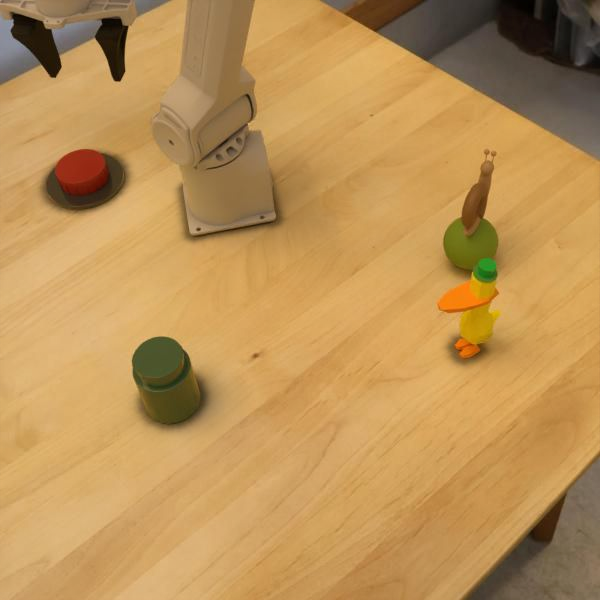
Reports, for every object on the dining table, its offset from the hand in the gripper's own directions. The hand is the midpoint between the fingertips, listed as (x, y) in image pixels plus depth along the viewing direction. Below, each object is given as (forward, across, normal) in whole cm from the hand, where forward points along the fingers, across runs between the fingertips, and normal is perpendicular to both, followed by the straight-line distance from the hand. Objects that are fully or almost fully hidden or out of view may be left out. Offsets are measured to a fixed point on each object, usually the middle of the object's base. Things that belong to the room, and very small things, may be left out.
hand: (87, 74), depth 96 cm
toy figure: (+10, +44, -26) cm, 52 cm away
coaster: (+9, 0, -8) cm, 12 cm away
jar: (+9, +18, -35) cm, 40 cm away
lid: (+7, 0, -8) cm, 11 cm away
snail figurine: (+10, +44, -14) cm, 47 cm away
